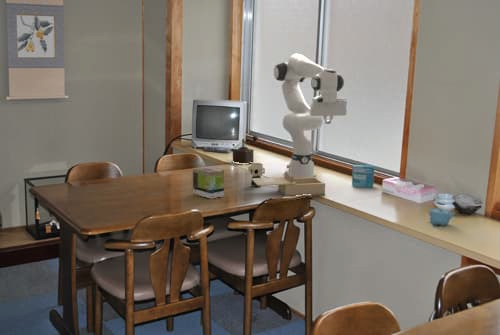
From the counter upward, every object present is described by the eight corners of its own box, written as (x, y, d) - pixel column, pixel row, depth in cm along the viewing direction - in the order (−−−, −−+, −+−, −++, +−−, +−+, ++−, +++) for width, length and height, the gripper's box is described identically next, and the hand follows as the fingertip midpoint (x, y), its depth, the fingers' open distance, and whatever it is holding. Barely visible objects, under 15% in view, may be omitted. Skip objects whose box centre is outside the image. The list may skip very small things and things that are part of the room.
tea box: (224, 197, 343) (224, 170, 340) (209, 200, 337) (209, 172, 334) (207, 192, 354) (207, 165, 351) (192, 194, 348) (192, 168, 345)
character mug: (244, 186, 368) (245, 164, 365) (251, 184, 374) (251, 162, 371) (261, 188, 362) (261, 166, 360) (267, 186, 368) (268, 164, 366)
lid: (251, 179, 355) (251, 172, 354) (288, 177, 359) (288, 171, 358) (257, 185, 340) (257, 178, 339) (295, 184, 344) (295, 177, 344)
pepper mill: (245, 165, 426) (245, 138, 423) (232, 163, 433) (232, 137, 429) (259, 162, 439) (259, 135, 435) (246, 160, 445) (246, 134, 441)
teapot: (456, 225, 295) (457, 209, 294) (453, 228, 290) (454, 212, 288) (430, 221, 301) (431, 205, 300) (426, 224, 296) (427, 208, 294)
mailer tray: (278, 190, 359) (278, 178, 358) (316, 188, 364) (316, 177, 362) (285, 196, 344) (285, 185, 343) (324, 195, 349) (325, 183, 348)
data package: (351, 186, 369) (352, 166, 366) (352, 185, 373) (353, 164, 371) (373, 187, 366) (374, 167, 364) (373, 186, 371) (374, 165, 368)
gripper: (344, 98, 359) (343, 122, 362) (309, 98, 355) (308, 123, 358) (348, 99, 353) (347, 124, 356) (312, 99, 349) (312, 125, 352)
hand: (327, 123), depth 357 cm, fingers closed
